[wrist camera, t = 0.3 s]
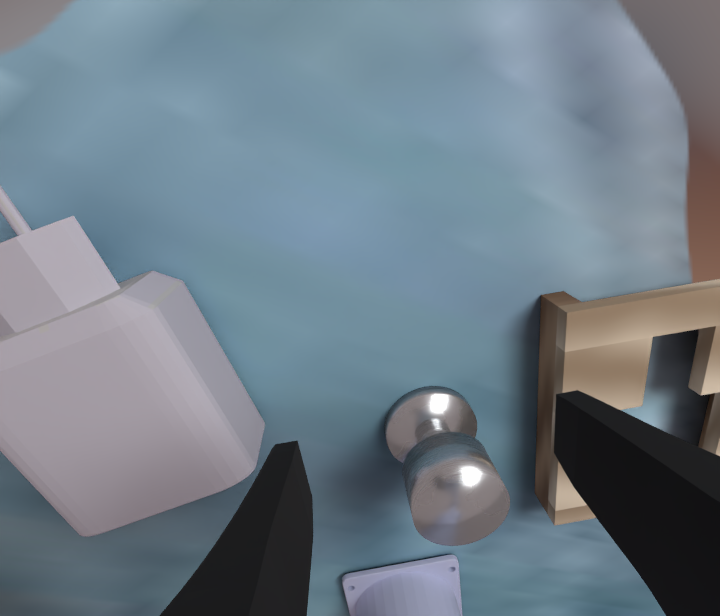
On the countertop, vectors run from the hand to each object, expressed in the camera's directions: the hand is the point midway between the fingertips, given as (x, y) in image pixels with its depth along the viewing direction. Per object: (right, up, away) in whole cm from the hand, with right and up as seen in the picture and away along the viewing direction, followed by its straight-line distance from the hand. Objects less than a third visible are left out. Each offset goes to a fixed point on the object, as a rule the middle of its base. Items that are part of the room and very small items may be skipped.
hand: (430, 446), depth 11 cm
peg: (+2, -3, +12) cm, 13 cm away
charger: (-14, +3, +9) cm, 17 cm away
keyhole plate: (+14, -1, +13) cm, 19 cm away
